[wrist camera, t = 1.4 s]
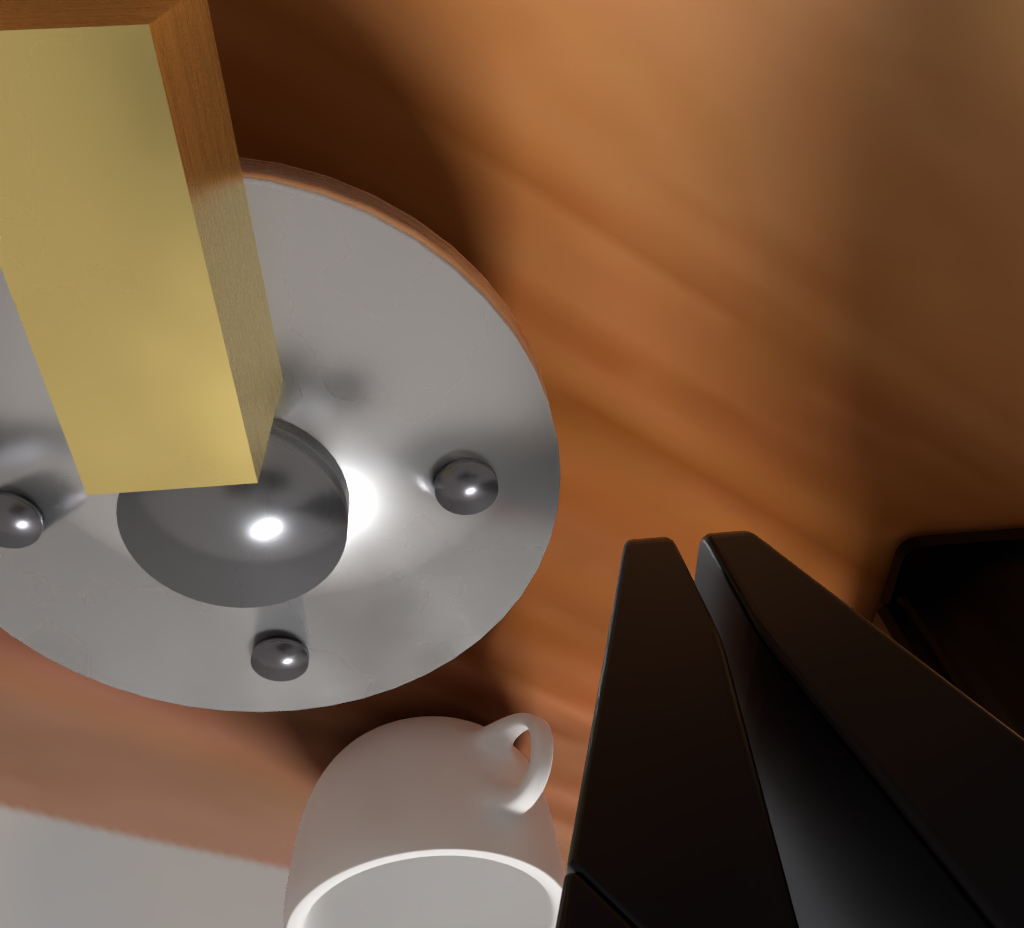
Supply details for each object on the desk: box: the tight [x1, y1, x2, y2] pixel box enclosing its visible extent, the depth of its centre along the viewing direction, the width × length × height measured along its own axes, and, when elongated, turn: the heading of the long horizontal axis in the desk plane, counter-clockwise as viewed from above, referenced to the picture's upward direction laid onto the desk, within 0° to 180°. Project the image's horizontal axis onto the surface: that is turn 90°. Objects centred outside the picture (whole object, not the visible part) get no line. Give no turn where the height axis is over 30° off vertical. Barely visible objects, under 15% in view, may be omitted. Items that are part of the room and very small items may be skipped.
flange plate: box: [0, 0, 560, 712], centre depth 15 cm, size 14×12×4 cm
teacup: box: [284, 713, 566, 928], centre depth 26 cm, size 10×8×5 cm
